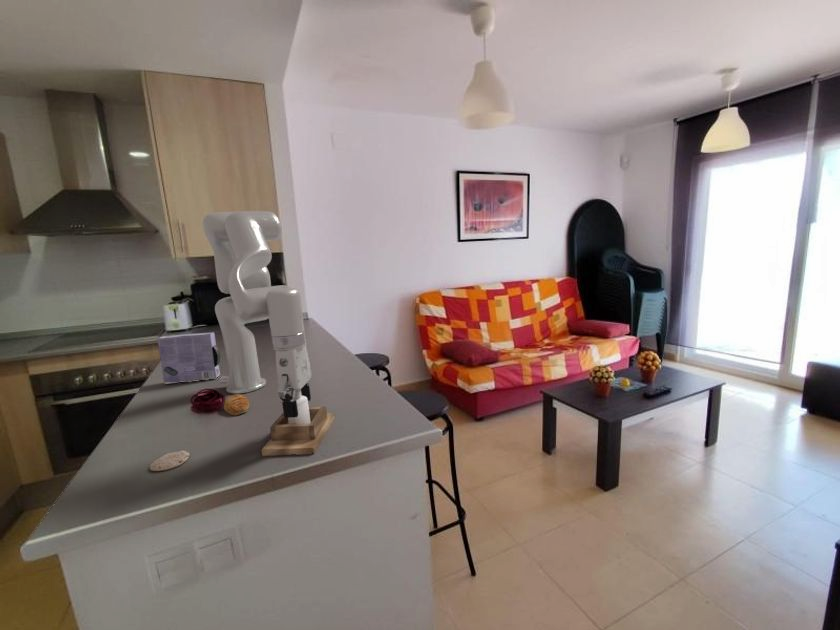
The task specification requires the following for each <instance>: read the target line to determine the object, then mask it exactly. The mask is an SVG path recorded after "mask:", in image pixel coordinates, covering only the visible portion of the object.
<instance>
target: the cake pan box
mask: <svg viewBox="0 0 840 630" xmlns="http://www.w3.org/2000/svg"><path fill="white" fill-rule="evenodd" d="M157 345H158V352H159V358H160V364H161V371H162V377H163V384H164V383H165V382H180V381H193V380H205V381H207V380H206V379H215V378H217V377H218V376H219V375H220V376H221V372H220V361H221V351H220V350H219V347H218V346H217V343H216V335H215V332H214V331H213V332H203V333H187V334H177V335H164V336H163V335H162V336H160V337H158V338H157ZM218 378H219V377H218ZM218 378H217V379H218Z"/></svg>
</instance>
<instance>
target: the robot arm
mask: <svg viewBox="0 0 840 630" xmlns="http://www.w3.org/2000/svg"><path fill="white" fill-rule="evenodd" d="M202 227H203V228H202V229H203V231H204V235H205V237H206V239H207V242H208V243H209V245H210V247H211V249H212V252H213V257H214V268H215V275H216V276H215V277H216V282H217V287H218V289H219V291H220V292H221V293H224V294H227V295H228V294H229V295H230V296H227V297H223V298H221V299H218V301H217V302H216V304H215V306H214V312H215V315H216V318H217V319H216V320H217V321H218V324H219V327H220V331H221V332H220V333H221V335H222V340H223V347H224V352H225V358H226V363H227V370H228V376H227V375H225V376H224V375H220V377H219V384H227V386H226V388H225V389H226V392H227V393H229V394H233V395H236V394H245V393H250V392H254V391H256V390H259V389H261V388H264V387H265V386H266V385H267V380H266V378H264V377H262V376H261V371H260V366H259V365H260V364H259V358H258V353H257V345H256V339H255V335H254V333H253V332H252V331H251V330H250V329H248V328H247V327H246V326H245V324H249V323H254V322H261V321H266V320H269V321H268V322H269V328H270V333H271V334H270V335H271V342H272V348H273V350H274V351H275V367H276V378H277V384H278V388H277V394H278V396H279V399H280V402H281V403H282V411H283V412H284V417H285V418H291V417H297V416H298V409H297V402H296V400H295V391H296V390H300V389H301V395H302V396H305V397H307V399H308V402H310V401H311V399H312V397H311V390H310V389H311V388H310V379H311V378H312V369H311V363H310V358H309V352H308V349H307V340H306V333H305V332H306V331H305V325H304V316H303V309H302V308H303V306H302V300H301V294H300V290H298V289H297V288H295V287H291V286H289V285H286V284H285V285H284V284H282V285H272V282H271V275H270V272H269V269H268V267H267V266H268V265H269V264H270V263H271V261H272V257H273V256H272V252H271V249H270V248H269V244H268V243H269V242H277V241H279V240H280V239H281V237H282V235H283V226H282V223H281V221H280V219H279V217H278V215H277V214H275V213H274V212H273V211H272V212H271V211H267V210H265V211H264V210H263V211H262V210H259V211H258V210H257V211H255V210H254V211H253V210H251V211H246V210H245V211H244V210H243V211H242V210H241V211H217V212H210V213H207V214H206V215H204V217H203V219H202ZM267 242H268V243H267ZM288 392H289V393H288ZM283 412H282V413H283Z"/></svg>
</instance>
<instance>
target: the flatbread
mask: <svg viewBox="0 0 840 630" xmlns="http://www.w3.org/2000/svg"><path fill="white" fill-rule="evenodd" d="M189 457H190V452H189V451H186V450H183V449H182V450H179V451H174V452H169V453H165V454H163V455H162V456H160V457H158V458H157V459H155V460H153V462H151V464H150V465H149V470H150V471H152V472H162V471H163V472H164V471H167V470H171V469H175V468H177V467H179V466H181V465H183V464H184V463H185V462H186V461H187V460H188V459H189Z"/></svg>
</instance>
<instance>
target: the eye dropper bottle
mask: <svg viewBox="0 0 840 630" xmlns="http://www.w3.org/2000/svg"><path fill="white" fill-rule="evenodd" d="M295 400H296V402H297V409H298V416H297V417H291V418H288V421H289V424H306V423H311V421H310V413H309V407H310V405H309V401H308V399H307V397H305V396H302V395H301V389H300V390H296V391H295Z"/></svg>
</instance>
